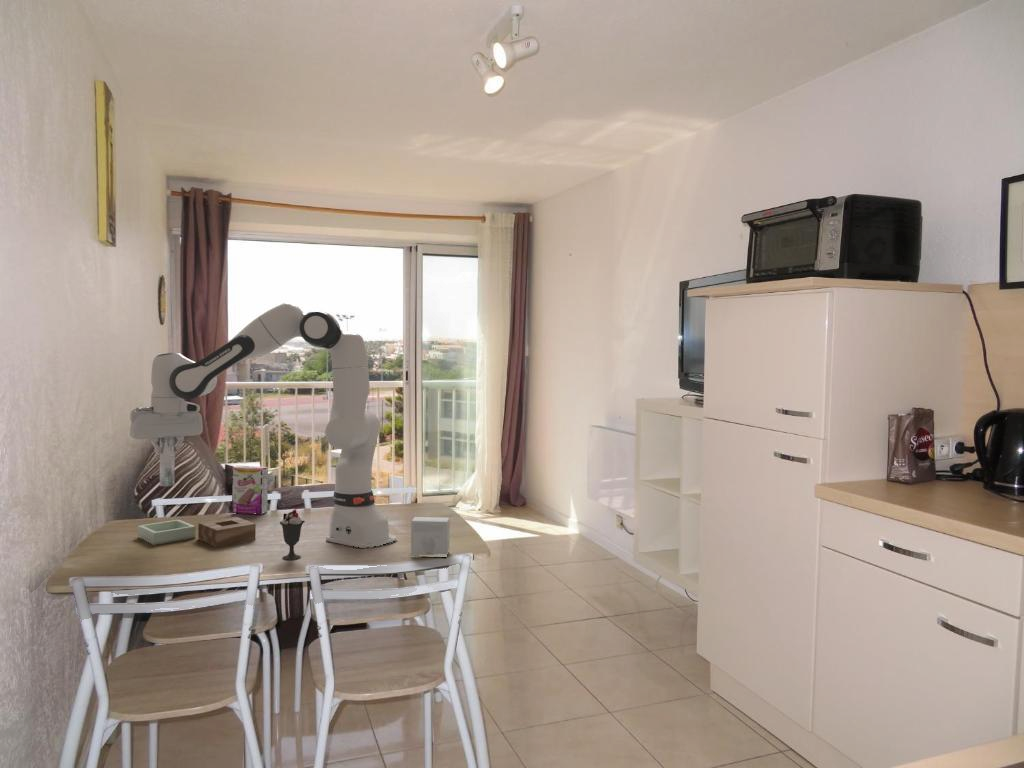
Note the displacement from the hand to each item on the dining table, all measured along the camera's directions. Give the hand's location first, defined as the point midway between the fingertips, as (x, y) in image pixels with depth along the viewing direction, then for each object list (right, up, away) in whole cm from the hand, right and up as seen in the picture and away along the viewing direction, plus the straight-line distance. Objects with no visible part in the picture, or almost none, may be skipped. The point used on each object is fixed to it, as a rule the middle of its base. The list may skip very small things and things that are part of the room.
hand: (167, 452), depth 213 cm
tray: (-1, -26, +1) cm, 26 cm away
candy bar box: (+12, -25, +36) cm, 45 cm away
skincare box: (+81, -29, -10) cm, 86 cm away
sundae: (+43, -28, -16) cm, 54 cm away
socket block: (+18, -27, +1) cm, 32 cm away
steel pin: (0, -10, 0) cm, 10 cm away
